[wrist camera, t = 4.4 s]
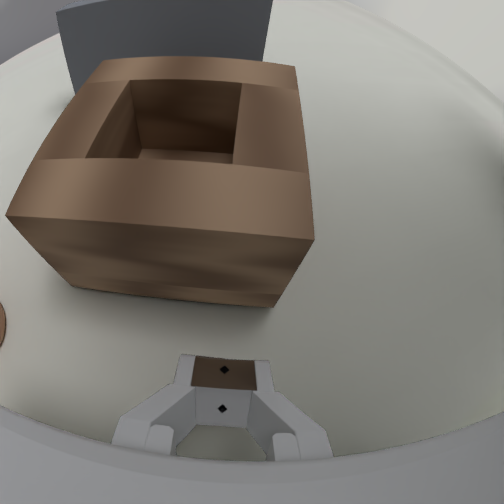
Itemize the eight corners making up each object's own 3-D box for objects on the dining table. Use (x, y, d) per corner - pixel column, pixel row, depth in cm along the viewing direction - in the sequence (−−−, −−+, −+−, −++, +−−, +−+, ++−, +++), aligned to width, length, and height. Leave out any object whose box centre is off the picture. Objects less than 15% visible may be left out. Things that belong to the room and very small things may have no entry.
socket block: (273, 151, 20) (294, 66, 14) (273, 307, 15) (314, 239, 9) (121, 142, 19) (103, 60, 13) (71, 285, 14) (5, 215, 8)
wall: (255, 95, 24) (272, -8, 15) (254, 108, 23) (273, -2, 14) (87, 93, 23) (68, 3, 14) (78, 105, 22) (55, 11, 13)
